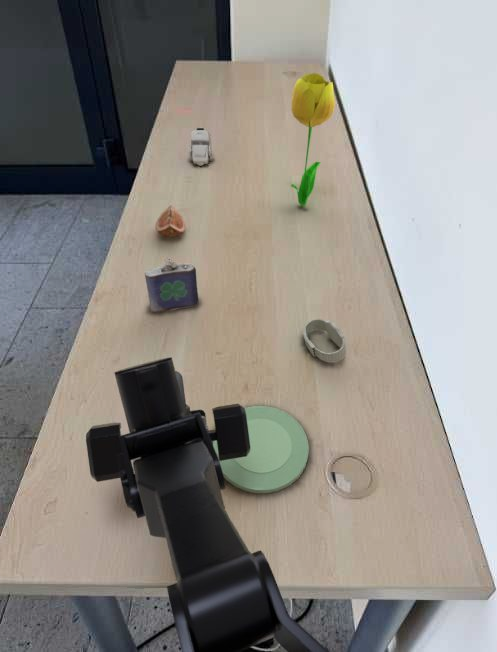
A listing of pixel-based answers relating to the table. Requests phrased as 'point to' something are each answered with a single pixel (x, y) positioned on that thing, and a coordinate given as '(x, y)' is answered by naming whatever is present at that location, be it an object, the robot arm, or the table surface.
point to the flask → (172, 286)
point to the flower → (311, 119)
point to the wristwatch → (333, 333)
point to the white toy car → (200, 146)
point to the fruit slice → (170, 223)
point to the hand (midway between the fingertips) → (171, 427)
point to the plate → (268, 452)
